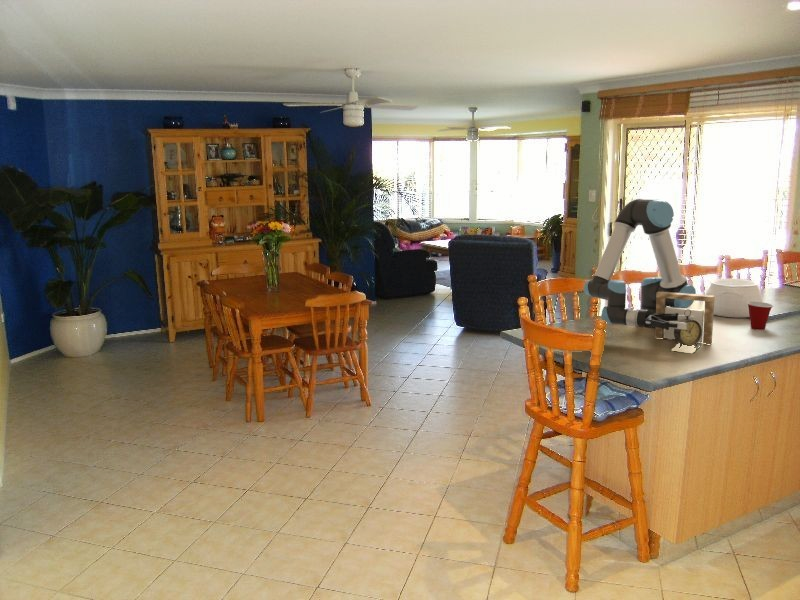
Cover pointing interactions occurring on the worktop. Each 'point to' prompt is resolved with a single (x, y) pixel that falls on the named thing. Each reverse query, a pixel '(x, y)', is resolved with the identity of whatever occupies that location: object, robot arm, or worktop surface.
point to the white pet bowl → (733, 296)
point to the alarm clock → (688, 332)
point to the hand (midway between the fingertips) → (690, 322)
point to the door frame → (697, 297)
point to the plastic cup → (759, 314)
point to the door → (694, 312)
